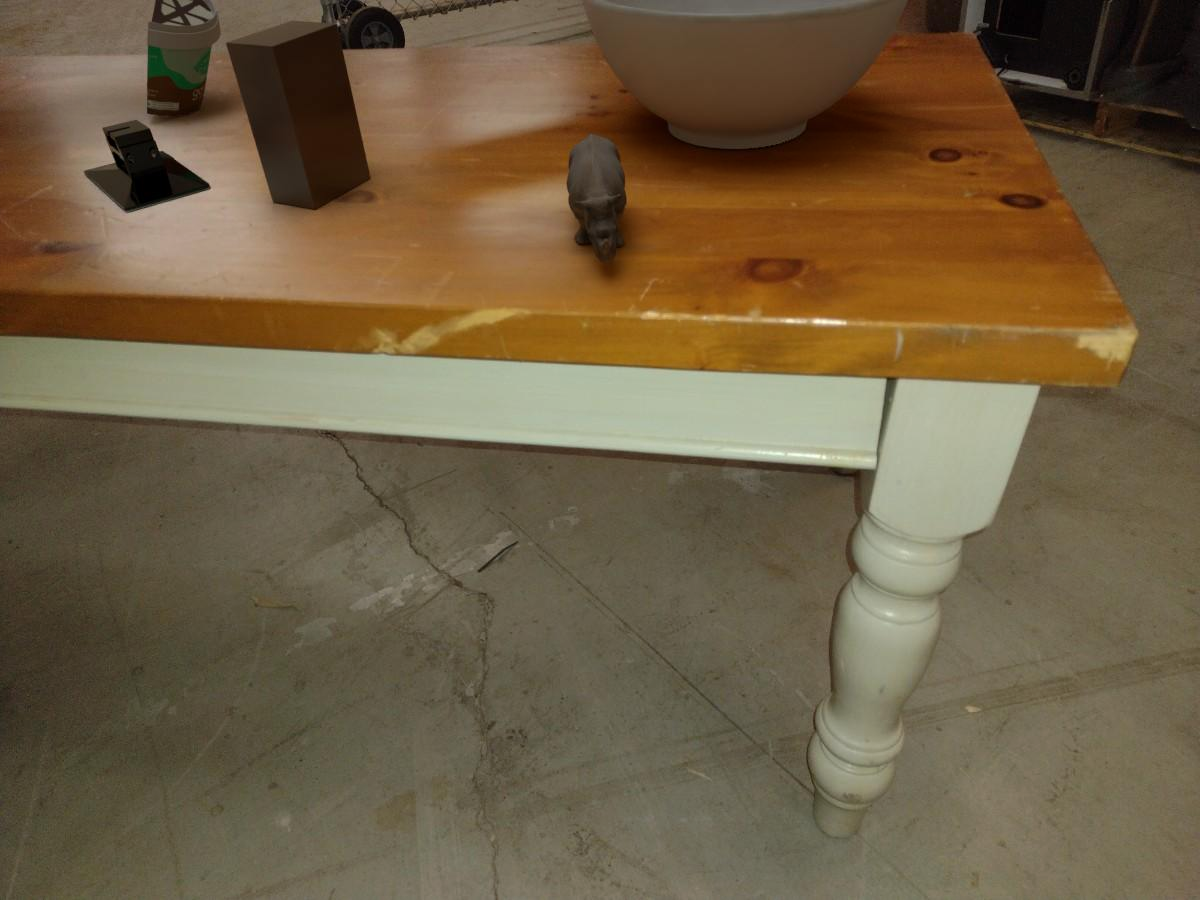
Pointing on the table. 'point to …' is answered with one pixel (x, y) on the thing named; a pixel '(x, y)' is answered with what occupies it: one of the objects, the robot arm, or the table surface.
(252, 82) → the walnut block
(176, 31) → the food container
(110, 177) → the build plate
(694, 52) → the decorative bowl
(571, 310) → the table surface
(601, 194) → the rhino figurine
